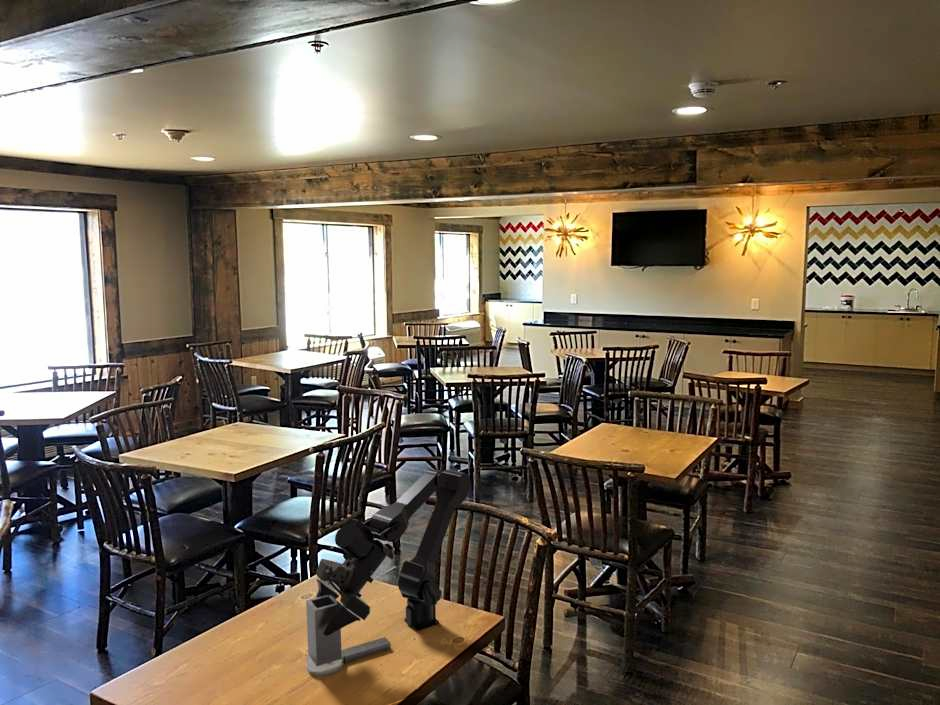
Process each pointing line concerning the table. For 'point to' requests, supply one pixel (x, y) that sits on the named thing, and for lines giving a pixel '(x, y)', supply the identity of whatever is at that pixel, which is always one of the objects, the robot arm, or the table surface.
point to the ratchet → (348, 656)
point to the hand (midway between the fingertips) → (317, 625)
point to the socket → (322, 630)
